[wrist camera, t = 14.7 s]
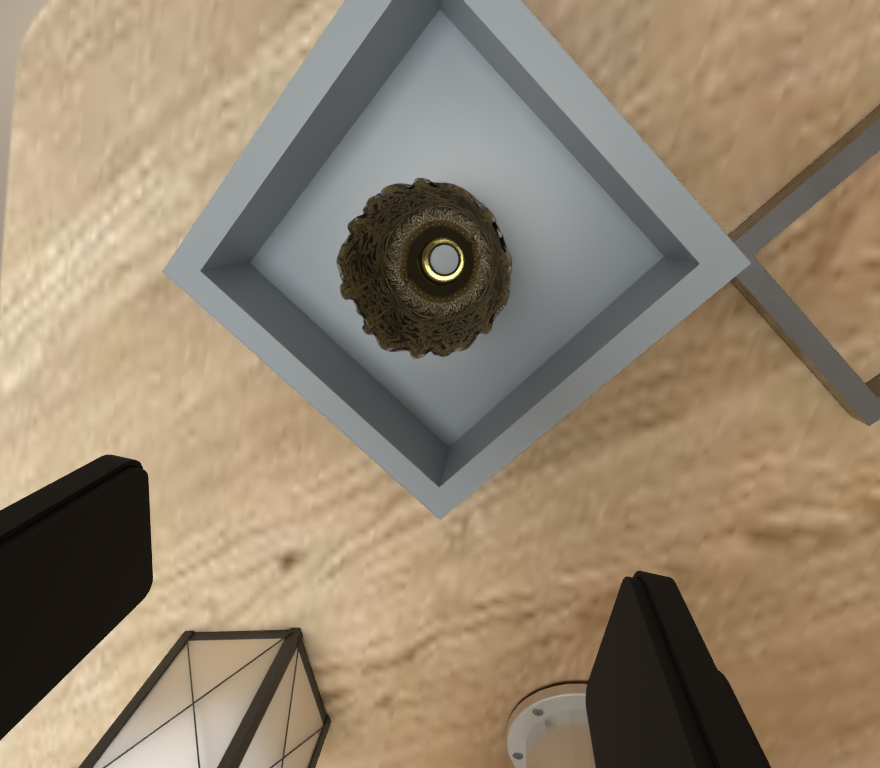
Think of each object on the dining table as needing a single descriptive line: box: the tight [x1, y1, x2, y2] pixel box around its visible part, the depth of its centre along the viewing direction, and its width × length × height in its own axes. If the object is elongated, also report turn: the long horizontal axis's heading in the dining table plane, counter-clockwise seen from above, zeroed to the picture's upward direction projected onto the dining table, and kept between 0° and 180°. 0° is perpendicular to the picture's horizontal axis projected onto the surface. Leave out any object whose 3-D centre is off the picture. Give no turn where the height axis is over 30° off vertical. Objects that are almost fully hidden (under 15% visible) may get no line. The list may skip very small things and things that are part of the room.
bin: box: [162, 0, 751, 519], centre depth 25 cm, size 20×20×6 cm
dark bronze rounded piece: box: [336, 178, 512, 359], centre depth 23 cm, size 7×7×8 cm
